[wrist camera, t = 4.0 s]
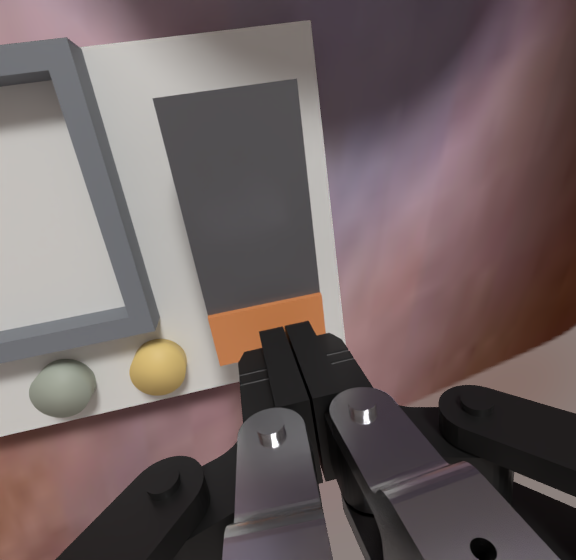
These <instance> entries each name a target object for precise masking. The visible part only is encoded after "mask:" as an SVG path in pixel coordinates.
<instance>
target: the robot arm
mask: <svg viewBox="0 0 576 560" xmlns="http://www.w3.org/2000/svg"><path fill="white" fill-rule="evenodd" d="M259 335H260V340H261V345H262V348H259V349H255V350H250V351H246V352H244V353H243V355H242V357H241V359H240V360H239V362H238V369H239V381H240V392H241V404H242V415H243V424H242V426H241V428H240V430H239V432H238V439H237V442H236V443H235V445H234V446H233V447H232V448H231V449H230V450H229V451H227V452H226V453H225V454H223V455H222V456H220V457H218V458H217V459H215V460H213V461H211V462H209V463H207V464H205V465H203V466H202V467H201V465H200V464H199V462H197V461H196V460H195V459H193V458H191V457H187V456H174V457H169V458H166V459H163V460H161V461H159V462H156V463H155V464H153V465H151V466H150V467H148V468H147V469H146V470H144V471H143V472H142V473H141V474H140V475H139V476H138V477H137V478H136V479H135V480H134V481H133V482H132V483H131V484H130V485H129V486H128V487H127V488H126V489H125V490H124V491H123V492H122V493H121V494H120V495H119V496H118V497H117V498H116V499H115V500H114V501H113V502H112V503H111V504H110V505H109V506H108V507H107V508H106V509H105V510H104V511H103V512H102V513H101V514H100V515H99V516H98V517H97V518H96V519H95V520H94V521H93V522H92V523H91V524H90V525H89V526H88V527H87V528H86V529H85V530H84V531H83V532H82V533H81V534H80V535H79V536H78V537H77V538H76V539H75V540H74V541H73V542H72V543H71V544H70V545H69V546H68V547H67V548H66V549H65V550H64V552H63V553H62V554H61V555H60V556H59V557H58V558H57V559H56V560H333V557H332V552H331V548H330V543H329V538H328V533H327V528H326V523H325V518H324V513H323V509H322V503H321V496H320V491H319V485H318V484H319V483H323V479H322V473H321V468H322V471H323V474H324V478H325V480H326V481H330V480H334V479H337V482H338V485H339V487H340V490H341V495H342V502H343V509H344V512H345V515H346V517H347V519H348V521H349V524H350V526H351V528H352V531H353V533H354V535H355V538H356V540H357V542H358V545H359V547H360V549H361V551H362V554H363V556H364V558H365V560H576V508H573V507H571V506H569V505H567V504H565V503H562V502H560V501H558V500H555V499H553V498H551V497H548V496H546V495H544V494H541V493H539V492H537V491H534V490H532V489H529V488H527V487H525V486H522V485H520V484H518V483H516V482H513V480H514V479H513V478H514V472H517V473H519V474H522V475H524V476H526V477H529V478H531V479H534V480H536V481H538V482H541V483H543V484H546V485H548V486H551V487H553V488H555V489H558V490H560V491H563V492H565V493H567V494H570V495H572V496H575V497H576V414H575V413H571V412H568V411H565V410H561V409H558V408H554V407H551V406H547V405H544V404H540V403H537V402H534V401H531V400H527V399H524V398H520V397H517V396H513V395H510V394H506V393H503V392H500V391H497V390H493V389H490V388H486V387H482V386H475V385H462V386H456V387H453V388H450V389H448V390H447V391H445V392H444V393H443V394H442V395H441V397H440V399H439V407H405V406H400V405H398V404H397V403H396V402H395V401H394V399H393V398H392V397H391V396H390V395H388V394H387V393H385V392H383V391H381V390H378V389H375V388H373V387H372V385H371V384H370V382H369V381H368V379H367V377H366V376H365V374H364V373H363V371H362V370H361V368H360V367H359V365H358V364H357V362H356V361H355V359H354V358H353V356H352V354H351V353H350V351H348V348H347V347H346V345H345V344H344V342H343V340H342V339H340V338H338V337H337V336H335V335H333V334H331V333H325V334H321V335H316V333H315V332H314V330H313V328H312V326H311V324H310V322H309V321H304V322H299V323H295V324H290V325H286V326H285V331H284V328H283V326H281V327H277V328H272V329H268V330H263V331H259ZM320 465H321V468H320Z"/></svg>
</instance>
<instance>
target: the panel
mask: <svg viewBox="0 0 576 560" xmlns="http://www.w3.org/2000/svg"><path fill="white" fill-rule="evenodd" d="M290 79H297V83H298V92H299V102H300V111H301V120H302V129H303V139H304V148H305V157H306V167H307V176H308V185H309V194H310V204H311V213H312V222H313V231H314V241H315V250H316V259H317V268H318V278H319V287H320V293H321V295H322V302H323V311H324V321H325V330H326V333H331V334H333V335H335V336H337V337H338V338H340V339H342V340H343V342H344V344H345V345H346V343H345V334H344V325H343V315H342V306H341V297H340V288H339V278H338V269H337V260H336V251H335V241H334V232H333V223H332V214H331V204H330V195H329V186H328V176H327V167H326V158H325V149H324V139H323V130H322V121H321V112H320V102H319V93H318V84H317V75H316V65H315V56H314V47H313V38H312V28H311V20H306V21H297V22H289V23H281V24H272V25H264V26H255V27H247V28H238V29H230V30H222V31H213V32H205V33H196V34H188V35H179V36H171V37H163V38H154V39H146V40H137V41H129V42H120V43H112V44H104V45H95V46H87V47H78V46H77V45H76V44H74V43H73V42H72V41H70V40H69V39H68V38H67V37H66V38H57V39H49V40H40V41H31V42H23V43H14V44H5V45H0V437H2V436H6V435H10V434H15V433H19V432H23V431H28V430H32V429H36V428H41V427H45V426H49V425H54V424H58V423H62V422H67V421H71V420H75V419H80V418H84V417H88V416H93V415H97V414H101V413H106V412H110V411H114V410H119V409H123V408H127V407H132V406H136V405H140V404H145V403H149V402H153V401H158V400H162V399H166V398H171V397H175V396H179V395H184V394H188V393H192V392H197V391H201V390H205V389H210V388H214V387H218V386H223V385H227V384H231V383H236V382H240V381H239V369H238V362H237V363H232V364H228V365H223V366H220V364H219V360H218V356H217V352H216V348H215V344H214V341H213V337H212V333H211V329H210V325H209V321H208V314H207V310H206V306H205V302H204V298H203V294H202V290H201V287H200V283H199V279H198V275H197V271H196V267H195V263H194V259H193V255H192V251H191V247H190V244H189V240H188V236H187V232H186V228H185V224H184V220H183V216H182V212H181V208H180V204H179V200H178V197H177V193H176V189H175V185H174V181H173V177H172V173H171V169H170V165H169V161H168V157H167V154H166V150H165V146H164V142H163V138H162V134H161V130H160V126H159V122H158V118H157V114H156V110H155V107H154V103H153V99H152V98H158V97H166V96H173V95H180V94H188V93H195V92H202V91H210V90H217V89H224V88H231V87H239V86H246V85H253V84H261V83H268V82H275V81H282V80H290Z"/></svg>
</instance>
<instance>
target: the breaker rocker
mask: <svg viewBox="0 0 576 560" xmlns="http://www.w3.org/2000/svg"><path fill="white" fill-rule="evenodd" d="M152 99H153V103H154V107H155V110H156V114H157V118H158V122H159V126H160V130H161V134H162V138H163V142H164V146H165V150H166V154H167V157H168V161H169V165H170V169H171V173H172V177H173V181H174V185H175V189H176V193H177V197H178V200H179V204H180V208H181V212H182V216H183V220H184V224H185V228H186V232H187V236H188V240H189V244H190V247H191V251H192V255H193V259H194V263H195V267H196V271H197V275H198V279H199V283H200V287H201V290H202V294H203V298H204V302H205V306H206V310H207V314H208V321H209V325H210V329H211V333H212V337H213V341H214V344H215V348H216V352H217V356H218V360H219V364H220V366H223V365H228V364H232V363H237V362H239V360H240V359H241V357H242V355H243V353H244V352H246V351H250V350H255V349H259V348H262V345H261V340H260V335H259V331H263V330H268V329H272V328H277V327H281V326H283V328H284V331H285V326H286V325H290V324H295V323H299V322H304V321H309V322H310V324H311V326H312V328H313V330H314V332H315V333H316V335H321V334H325V333H326V330H325V321H324V311H323V302H322V295H321V293H320V287H319V278H318V268H317V259H316V250H315V241H314V231H313V222H312V213H311V204H310V194H309V185H308V176H307V167H306V157H305V148H304V139H303V129H302V120H301V111H300V102H299V92H298V83H297V79H290V80H282V81H275V82H268V83H261V84H253V85H246V86H239V87H231V88H224V89H217V90H210V91H202V92H195V93H188V94H180V95H173V96H166V97H158V98H152Z"/></svg>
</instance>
